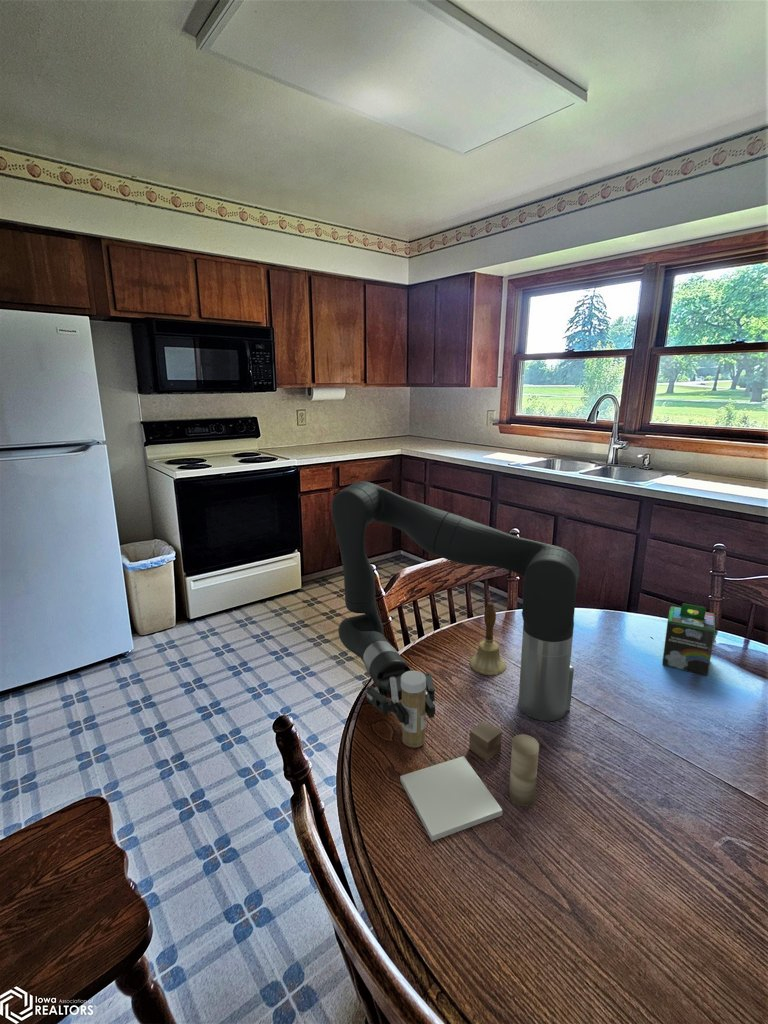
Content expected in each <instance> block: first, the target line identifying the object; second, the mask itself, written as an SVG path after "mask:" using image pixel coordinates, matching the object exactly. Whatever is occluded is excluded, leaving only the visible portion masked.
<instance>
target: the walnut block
mask: <svg viewBox="0 0 768 1024" xmlns="http://www.w3.org/2000/svg"><path fill="white" fill-rule="evenodd" d="M502 736H503V731H502V730H500V729H498V728H497V727H495V726H493V725H492V724H490V723H489V722H488V721H486V720H483V721H481V722H480V723H478V724H477V725H476V726H474V727H473V728H471V729H470V730H469V747H468V748H469V749H468V750H469V751H470V750H471V751H472V752H473V753H475V754H476V755H478V756H479V757H480V758H482V759H483V758H484V759H483V760H484V761H486V762H488V761H490V760H491V759H492V758H493V757H495V755H497V754H498V753H499V752H501V750H502V738H503V737H502ZM491 757H492V758H491Z"/></svg>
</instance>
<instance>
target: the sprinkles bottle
mask: <svg viewBox="0 0 768 1024" xmlns="http://www.w3.org/2000/svg"><path fill="white" fill-rule="evenodd" d="M401 688H402V699H401V703H402V705H403V707H404V708H405V709H406V711H407V713H408V715H409V724H407V725H404V723H401V726H402V729H401V730H402V736H401V741H402V743H403V744H404V745H405V746H407V747H409V748H413V749H414V748H420V747H422V746H423V745H424V744H426V742H427V741H426V740H427V735H426V712H425V691H426V677H425V673H423V672H421V671H418V670H411V671H407V672H405V673H404V674H402V676H401Z"/></svg>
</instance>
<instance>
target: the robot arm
mask: <svg viewBox="0 0 768 1024" xmlns="http://www.w3.org/2000/svg"><path fill="white" fill-rule="evenodd" d="M331 515H332V521H333V525H334V528H335V529H334V530H335V534H336V538H337V539H336V540H337V543H338V544H337V545H338V548H339V552H340V558H341V563H342V568H343V569H342V571H343V582H344V587H343V588H344V602H345V603H344V604H345V607H346V609H347V611H349V612H350V613H351V612H352V613H354V614H359V615H354V616H349V617H346V618H344V619H343V620H342V621H341V622H340V624H339V626H338V631H337V632H338V636H339V639H340V642H341V643H342V645H343V646H344V648H346V649H347V650H349V652H352V654H354V655H355V656H357V657H359V658H360V659H361V661H362V663H363V664H364V667H365V670H366V672H367V674H368V675H369V676H370V678H371V680H372V681H373V683H374V685H375V686H376V687H372V686H367V687H366V701H367V702H368V703H370V704H371V705H372V706H373V707H374V708H376V709H377V710H378V711H379V712H380V713H381V714H383V715H388V714H389V713H392V714H393V715H395V717H396V718H397V720H398V722H399V723H400V724H402V723H404V725H407V724H409V715H408V713H407V711H406V709H405V708H404V707H403V705H402V688H401V676H402V674H404V673H405V672H407V671H412V670H411V668H410V667H409V665H408V664H407V662H406V661H405V660H404V659H403V657H402V655H400V653H399V651H397V649H396V648H395V647H394V646H393V645H391V643H390V641H389V640H388V639H387V638H386V637H385V636H384V625H383V622H382V619H381V617H380V614H379V611H378V607H377V603H376V580H375V573H374V569H373V566H372V564H371V563H370V561H369V558H368V556H367V553H366V548H365V537H366V535H365V534H366V528H367V526H368V525H370V524H371V523H372V522H377V523H381V524H385V525H387V526H391V527H394V528H396V529H398V530H400V531H402V532H403V533H405V535H407V536H408V537H409V538H410V539H411V540H412V541H413V542H414V543H415V544H416V545H418V546H419V547H420V548H421V549H423V550H424V551H425V552H427V553H429V554H432V555H434V556H436V557H438V558H442V559H445V560H446V561H447V560H448V561H451V562H454V563H457V564H461V565H462V564H463V565H468V566H469V565H471V566H481V567H483V566H485V567H493V568H500V569H504V570H507V571H510V572H513V573H514V574H517V575H521V576H523V588H522V605H521V606H522V612H521V615H522V620H523V621H522V622H523V624H522V625H523V627H522V640H521V643H522V644H521V656H520V657H521V659H520V672H519V687H518V702H517V703H518V707H519V708H520V710H521V711H522V712H523V713H524V714H525V715H526V716H529V717H530V718H533V719H535V720H539V721H542V722H544V721H545V722H552V721H558V720H560V719H562V718H564V716H565V715H566V712H568V711H570V710H571V703H572V701H571V700H572V693H573V691H572V690H573V683H574V669H575V668H574V667H573V666H572V665H571V661H572V651H573V650H572V649H573V647H572V646H573V637H574V627H575V608H576V599H577V589H578V587H577V586H578V581H579V577H580V569H581V568H580V564H579V562H578V560H577V558H576V557H575V555H574V554H572V553H571V552H570V551H569V550H567V549H565V548H563V547H561V546H558V545H555V544H554V545H553V544H551V543H550V544H549V543H545V542H540V541H536V540H532V539H527V538H523V537H520V536H516V535H512V534H510V533H508V532H504V531H503V530H499V529H497V528H494V527H491V526H489V525H485V524H483V523H481V522H477V521H475V520H472V519H468V518H467V517H464V516H461V515H458V514H455V513H452V512H449V511H446V510H442V509H439V508H436V507H433V506H430V505H427V504H425V503H421V502H419V501H414V500H412V499H408V498H406V497H403V496H401V495H399V494H397V493H395V492H392V491H391V490H389V489H386V488H384V487H382V486H380V485H378V484H376V483H373V482H369V481H365V480H364V481H361V480H360V481H357V482H354V483H352V484H351V485H349V486H346V487H345V488H343V489H342V490H340V491H338V492H337V493H336V494H335V495H334V497H333V499H332V501H331ZM424 675H425V677H426V688H425V714H427V716H428V717H429V719H432V718H434V717H435V715H436V704H435V703H434V702H435V700H436V698H435V697H436V696H435V691H436V688H435V684H434V681H433V678H432V673H430V672H425V673H424ZM388 698H389V699H388ZM400 701H401V702H400Z"/></svg>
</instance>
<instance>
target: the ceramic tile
mask: <svg viewBox="0 0 768 1024" xmlns="http://www.w3.org/2000/svg"><path fill="white" fill-rule="evenodd" d="M399 780H400V783H401V785H402V787H403V788H404V791H405V793H406V795H407V796H408V798H409V800H410V802H411V804H412V806H413V808H414V810H415V812H416V813H417V816H418V818H419V819H420V821H421V823H422V825H423V827H424V829H425V831H426V833H427V834H428V836H429V839H430V841H431V842H434V841H436V840H439V839H442V838H444V837H447V836H450V835H453V834H456V833H459V832H461V831H463V830H466V829H469V828H473V827H474V826H477V825H479V824H482V823H486V822H488V821H490V820H493V819H497V818H499V817H501V816H503V813H504V812H503V809H502V807H501V806H500V805H499V803H498V801H497V800H496V799H495V797H494V796H493V794H492V793H491V792H490V791H489V789H488V788H487V786H486V785H485V784H484V782H483V781H482V780H481V778H480V777H479V775H478V774H477V773H476V771H475V770H474V769H473V767H472V766H471V764H470V763H469V762H468V760H467V758H466V757H465V756H464V755H463V756H459V757H456V758H453V759H450V760H447V761H443V762H440V763H437V764H434V765H431V766H428V767H425V768H424V767H423V768H422V769H418V770H415V771H412V772H409V773H406V774H405V773H404V774H402V775H400V777H399Z"/></svg>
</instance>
